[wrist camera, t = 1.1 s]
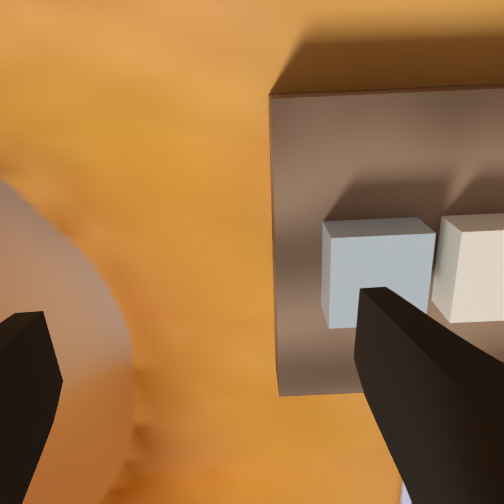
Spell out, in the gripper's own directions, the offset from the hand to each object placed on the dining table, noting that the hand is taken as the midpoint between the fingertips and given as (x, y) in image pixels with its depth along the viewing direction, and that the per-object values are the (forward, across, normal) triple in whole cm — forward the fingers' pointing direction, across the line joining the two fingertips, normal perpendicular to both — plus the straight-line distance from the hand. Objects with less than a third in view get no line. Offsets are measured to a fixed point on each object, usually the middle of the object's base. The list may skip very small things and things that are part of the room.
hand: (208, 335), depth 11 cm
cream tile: (+8, -12, +3) cm, 15 cm away
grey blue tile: (+9, -7, +3) cm, 11 cm away
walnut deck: (+11, -9, +4) cm, 15 cm away
